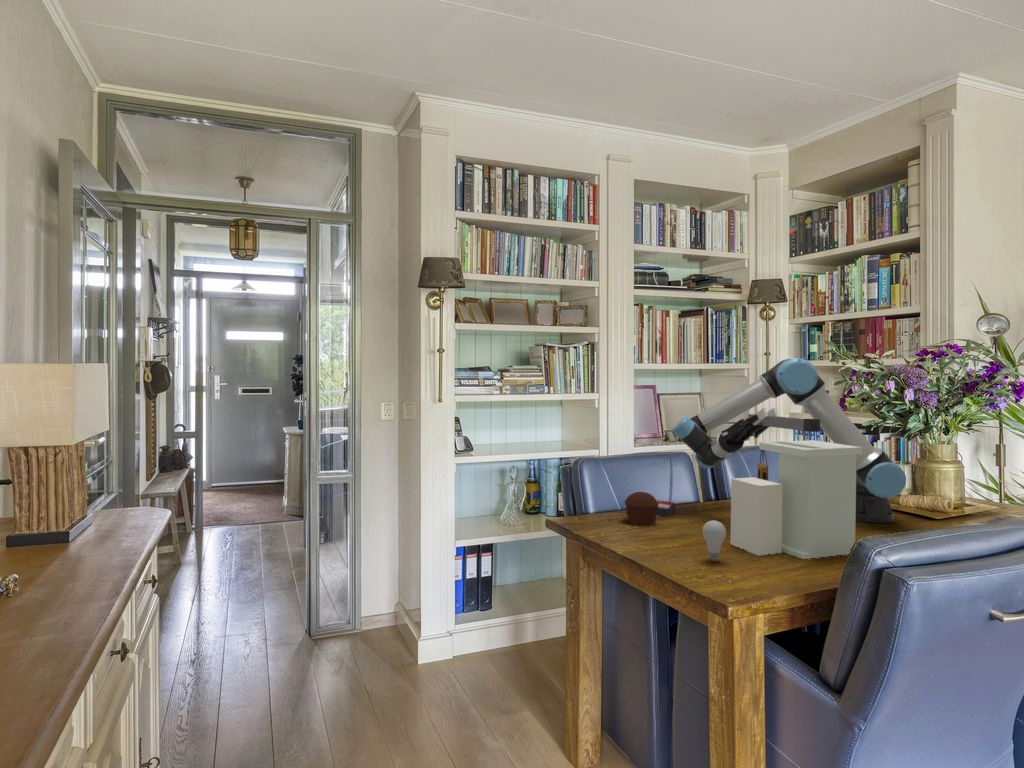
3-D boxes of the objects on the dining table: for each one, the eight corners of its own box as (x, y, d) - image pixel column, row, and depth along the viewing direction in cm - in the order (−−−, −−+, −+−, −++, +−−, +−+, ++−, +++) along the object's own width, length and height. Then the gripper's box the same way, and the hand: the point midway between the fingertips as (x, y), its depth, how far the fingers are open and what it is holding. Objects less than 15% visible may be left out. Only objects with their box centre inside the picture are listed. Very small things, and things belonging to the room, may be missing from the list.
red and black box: (668, 507, 223) (627, 501, 230) (668, 519, 223) (626, 513, 230) (676, 501, 233) (635, 495, 239) (675, 513, 233) (635, 507, 240)
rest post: (730, 544, 188) (731, 478, 188) (753, 542, 191) (753, 477, 190) (758, 555, 177) (759, 485, 176) (781, 553, 179) (782, 484, 179)
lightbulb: (698, 558, 175) (698, 518, 174) (720, 557, 175) (720, 517, 175) (707, 565, 168) (707, 523, 168) (729, 564, 169) (730, 523, 169)
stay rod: (747, 423, 201) (747, 413, 201) (756, 423, 202) (756, 412, 202) (810, 431, 176) (810, 419, 176) (819, 431, 177) (820, 419, 177)
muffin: (665, 525, 211) (665, 495, 211) (635, 527, 208) (635, 497, 208) (647, 517, 222) (647, 488, 222) (618, 519, 219) (618, 490, 219)
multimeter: (789, 501, 249) (789, 450, 249) (762, 500, 251) (762, 450, 251) (781, 494, 264) (781, 446, 263) (755, 493, 266) (756, 445, 265)
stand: (758, 542, 190) (759, 442, 189) (811, 537, 197) (813, 440, 196) (803, 560, 173) (804, 449, 172) (860, 553, 179) (862, 447, 179)
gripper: (751, 452, 214) (796, 422, 194) (710, 454, 209) (752, 423, 189) (744, 432, 217) (788, 400, 198) (703, 433, 212) (744, 401, 193)
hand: (770, 412), depth 194 cm, fingers closed on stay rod, 3 cm apart
